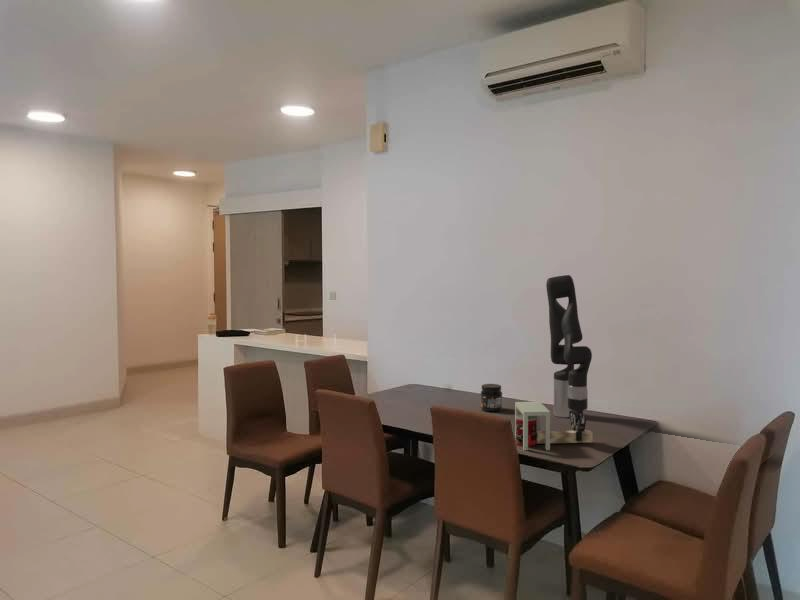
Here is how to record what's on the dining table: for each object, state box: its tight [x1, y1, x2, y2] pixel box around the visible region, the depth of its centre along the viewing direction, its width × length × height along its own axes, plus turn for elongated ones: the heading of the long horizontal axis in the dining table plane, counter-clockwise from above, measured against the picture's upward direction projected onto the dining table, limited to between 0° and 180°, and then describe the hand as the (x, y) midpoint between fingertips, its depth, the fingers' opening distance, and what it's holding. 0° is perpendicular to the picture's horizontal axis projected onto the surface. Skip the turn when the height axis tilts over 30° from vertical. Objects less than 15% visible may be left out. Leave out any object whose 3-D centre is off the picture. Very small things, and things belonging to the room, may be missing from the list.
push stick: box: [536, 429, 594, 444], centre depth 229 cm, size 22×3×4 cm, turn 91°
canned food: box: [515, 414, 537, 448], centre depth 229 cm, size 8×8×11 cm
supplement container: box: [480, 383, 503, 413], centre depth 283 cm, size 10×10×12 cm
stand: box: [514, 401, 551, 452], centre depth 229 cm, size 16×10×15 cm, turn 1°
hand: (577, 439), depth 230 cm, fingers closed on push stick, 3 cm apart
